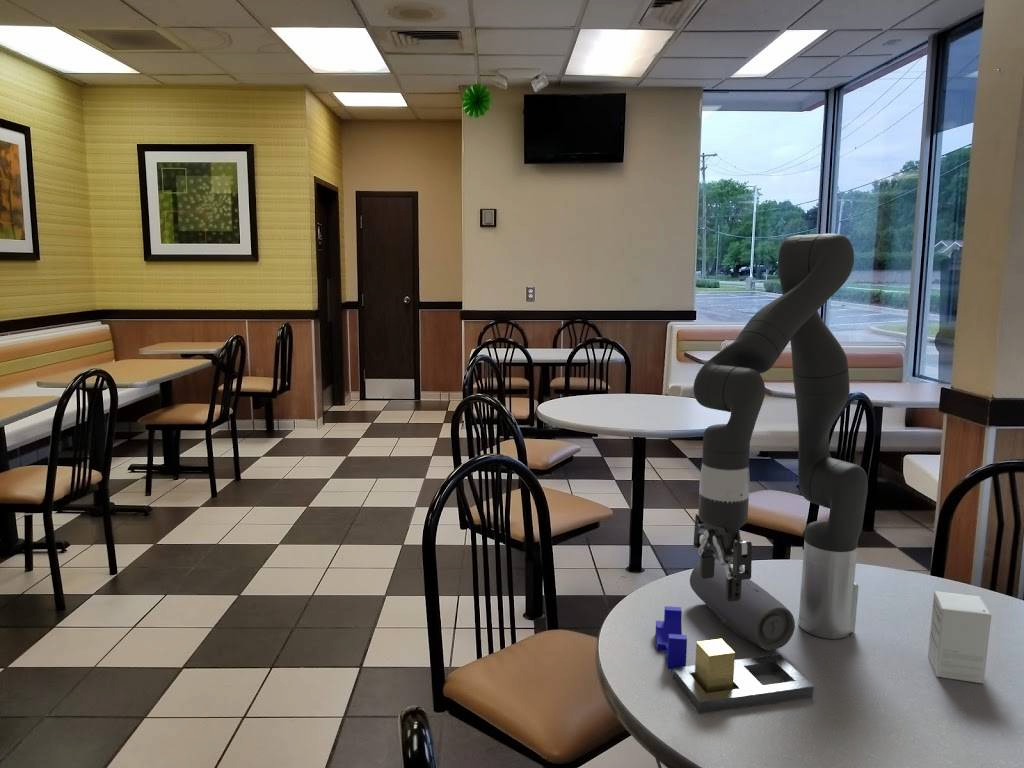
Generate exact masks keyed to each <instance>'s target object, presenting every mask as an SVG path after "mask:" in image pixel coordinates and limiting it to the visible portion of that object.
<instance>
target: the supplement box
mask: <svg viewBox="0 0 1024 768" xmlns="http://www.w3.org/2000/svg"><path fill="white" fill-rule="evenodd" d="M931 611H932V612H931V619H930V620H931V622H930V631H929V641H928V649H927V657H928V659H929V661H930V664H931V666H932V669H933V672H934V674H935V676H936V677H938V678H944V679H949V680H950V679H951V680H958V681H964V682H971V683H977V684H984V681H985V677H986V676H985V674H986V666H987V659H988V658H987V657H988V649H989V640H990V632H991V621H992V614H991V612H990V611H989V609H988V607H987V606H986V604H985V603H984V601H983V600H982V598H981V596H979V595H971V594H970V595H969V594H963V593H955V592H953V593H952V592H945V591H939V590H938V591H937V590H934V591H933V601H932V610H931Z"/></svg>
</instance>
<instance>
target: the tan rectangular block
mask: <svg viewBox="0 0 1024 768" xmlns="http://www.w3.org/2000/svg"><path fill="white" fill-rule="evenodd" d="M735 658H736V652H735V651H734V650H733V649H732V648H731V647H730V646H729V645H728V644H727V643H726V642H725V641H724V640H723V638H717V639H710V640H709V639H708V640H700V641H696V644H695V661H694V665H695V681H696V682H697V683H698V684H699V686H700V687H701V688H702V689H703V690H704V692H705V693H712V692H719V691H726V690H733V679H734V661H735V660H736V659H735Z"/></svg>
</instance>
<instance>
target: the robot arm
mask: <svg viewBox="0 0 1024 768" xmlns="http://www.w3.org/2000/svg"><path fill="white" fill-rule="evenodd" d="M777 259H778V260H777V261H778V262H777V263H778V265H777V266H778V274H779V276H778V277H779V282H780V286H781V287H780V289H781V292H782V293H781V294H782V295H781V296H779V297H777V298H776V299H774V300H773V301H771V302H770V303H768V304H765V305H764V306H763V307H761V309H759V310H758V311H757V312H755V313H754V315H753V316H752V317H751V318H750V319H749V320H748V322H747V323H746V324H745V326H744V327H743V328H742V329H741V331H740V333H739V334H738V335H737V337H736V338H735V340H734V341H733V342H732V343H730V344H729V345H727V346H725V347H724V348H722V349H721V350H720V351H719V352H717V354H715V355H714V356H712V357H711V358H709V360H707V361H706V362H705V363H704V364H703V365H702V366H701V368H700V369H699V370H698V372H697V374H696V376H695V379H694V382H693V388H692V389H693V390H692V391H693V396H694V398H695V401H696V402H697V403H698V404H699V405H701V406H702V407H704V408H707V409H711V410H715V411H722V412H728V413H730V416H729V420H728V421H727V423H719V424H718V423H717V424H713V425H710V426H708V427H706V428H705V430H704V433H703V437H702V438H703V439H702V457H701V460H702V461H701V469H700V473H699V474H700V475H699V488H698V489H699V490H698V491H699V492H698V510H697V511H698V513H696V514H695V516H694V517H695V518H694V519H695V520H694V531H693V532H694V534H693V547H694V548H695V549H698V551H697V552H698V555H699V556H700V561H701V563H700V576H701V577H702V578H703V579H706V578H712V577H714V567H715V559H716V556H715V554H717V556H718V560H719V561H720V563H721V564H722V565H723V566H724V567H725V571H726V575H727V578H726V599H727V600H728V601H729V602H732V601H739V600H740V598H741V583H742V580H745V579H750V580H751V579H752V559H753V557H752V556H753V554H752V553H753V543H752V541H751V540H743V539H742V538H741V534H740V533H741V532H740V529H741V527H743V526H744V525H746V524H747V523H748V518H749V499H750V481H751V480H750V479H751V478H750V469H749V467H750V449H751V440H752V435H753V433H754V429H755V427H756V422H757V419H758V417H759V414H760V412H761V409H762V406H763V403H764V399H765V398H766V397H765V396H766V385H765V382H764V379H763V377H762V376H761V374H764V373H766V372H769V370H771V369H772V367H773V366H774V365H775V363H776V362H777V361H778V359H780V356H781V355H782V353H783V352H784V350H785V349H786V347H787V346H788V345H789V343H790V350H791V361H792V362H791V363H792V378H793V388H794V395H795V402H796V413H797V414H796V415H797V429H798V431H797V432H798V434H797V435H798V454H797V455H798V461H797V464H798V467H797V469H798V470H797V479H798V487H799V490H800V493H801V495H802V497H803V498H804V499H805V500H806V501H808V502H810V503H812V504H815V505H817V506H821V507H824V508H827V509H830V512H829V516H828V519H822V520H816V521H812V522H809V523H807V525H806V526H805V530H804V543H803V557H802V569H801V570H802V572H801V584H800V596H799V610H798V611H799V612H798V625H799V627H800V628H801V629H802V630H803V631H804V632H806V633H808V634H811V635H813V636H815V637H819V638H823V639H829V640H830V639H831V640H832V639H833V640H834V639H835V640H836V639H843V638H847V636H849V635H850V634H851V633H855V631H856V624H857V623H856V620H857V610H858V608H857V607H858V601H859V600H858V597H859V588H860V587H859V584H858V583H856V581H855V579H856V567H857V554H858V545H859V544H858V543H859V538H860V536H861V533H862V530H863V526H864V517H865V510H866V504H867V499H868V498H867V497H868V491H869V490H868V489H869V482H868V480H869V479H868V475H867V472H866V471H865V469H864V468H863V467H862V466H860V465H858V464H854V463H852V462H848V461H845V460H841V459H837V458H834V457H832V455H831V452H830V433H831V429H832V427H833V425H834V424H835V421H836V420H837V419H838V417H839V415H840V414H841V412H842V411H843V409H844V407H845V406H846V404H847V401H848V399H849V396H850V392H851V391H850V387H851V386H850V375H849V362H848V357H847V355H846V352H845V351H844V348H843V346H842V345H841V344H840V343H839V341H838V340H837V338H836V337H835V335H834V334H833V333H832V331H831V330H830V328H828V325H826V323H825V322H824V320H823V319H822V317H821V315H820V313H819V310H820V308H822V307H823V306H824V305H825V304H826V303H827V302H828V301H829V300H830V299H831V298H832V297H833V295H835V294H836V293H837V292H838V291H839V290H840V289H841V288H842V287H843V286H844V285H845V283H846V282H847V280H848V279H849V277H850V275H851V274H852V272H853V268H854V264H855V253H854V247H853V245H852V242H851V241H850V239H849V238H848V237H847V236H845V235H843V234H840V233H815V234H814V233H813V234H797V235H792V236H787V237H786V238H785V239H784V241H783V242H782V243H781V245H780V248H779V251H778V258H777ZM702 535H703V536H702ZM701 536H702V538H701ZM731 565H732V566H731ZM731 568H733V571H732V569H731Z"/></svg>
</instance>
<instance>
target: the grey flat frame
mask: <svg viewBox="0 0 1024 768" xmlns="http://www.w3.org/2000/svg"><path fill="white" fill-rule="evenodd" d="M772 673H773V674H776V676H777V677H778V678H779V679H780V680H782V681H783V682H779V683H778V682H777V683H771V684H770V683H769V684H765V685H764V684H762V683H761V682H760V681H759V680H758V679H757V678H756V677H755V676H758V675H765V674H772ZM671 679H672V680H673V681H674V683H675V684H676V685H677V687H678V688H679V689H680V691H681V692H682V693H683V695H684V696H685V698H686V699H687V700H688V701H689V703H691V704H692V706H693V707H694V709H695V710H696V711H697V713H698V714H701V715H702V714H706V713H714V712H720V711H729V710H735V709H742V708H749V707H754V706H755V707H756V706H762V705H769V704H771V705H772V704H777V703H784V702H790V701H798V700H804V699H812V698H814V689H815V686H814V685H813V684H812V682H810V681H809V680H808V679H807V678H806V677H805V676H803V675H802V674H801V673H800V672H799V671H798V670H797V669H796V668H795V667H794V666H792V665H791V664H790V663H789V661H787V660H786V659H785V658H784V657H783V656H782V655H780V654H772V655H771V654H770V655H764V656H763V655H762V656H757V657H748V658H742V659H741V658H740V659H735V661H734V679H733V690H726V691H719V692H712V693H705V692H704V690H703V689H702V688H701V687H700V686H699V684H698V683H697V682H696V681H695V664H694V665H686V666H685V667H677V668H673V670H672V678H671Z"/></svg>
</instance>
